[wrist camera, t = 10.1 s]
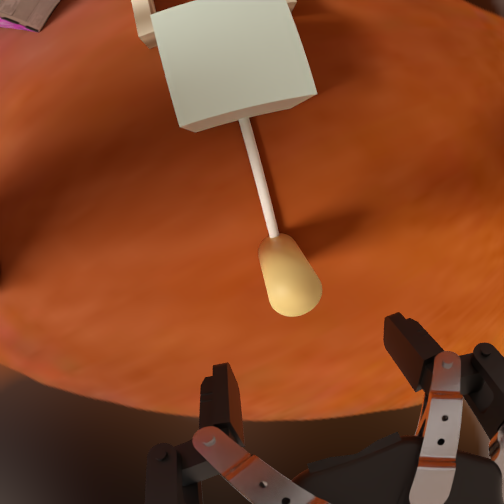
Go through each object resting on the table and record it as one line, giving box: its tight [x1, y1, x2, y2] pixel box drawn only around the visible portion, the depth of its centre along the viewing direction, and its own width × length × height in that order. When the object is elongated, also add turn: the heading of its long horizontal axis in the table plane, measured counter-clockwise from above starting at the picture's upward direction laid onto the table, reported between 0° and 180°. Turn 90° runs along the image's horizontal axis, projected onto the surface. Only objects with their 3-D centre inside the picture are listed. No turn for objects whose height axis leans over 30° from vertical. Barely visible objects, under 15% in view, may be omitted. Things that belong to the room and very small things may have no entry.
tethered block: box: [150, 0, 322, 316], centre depth 17 cm, size 20×8×7 cm, turn 15°
